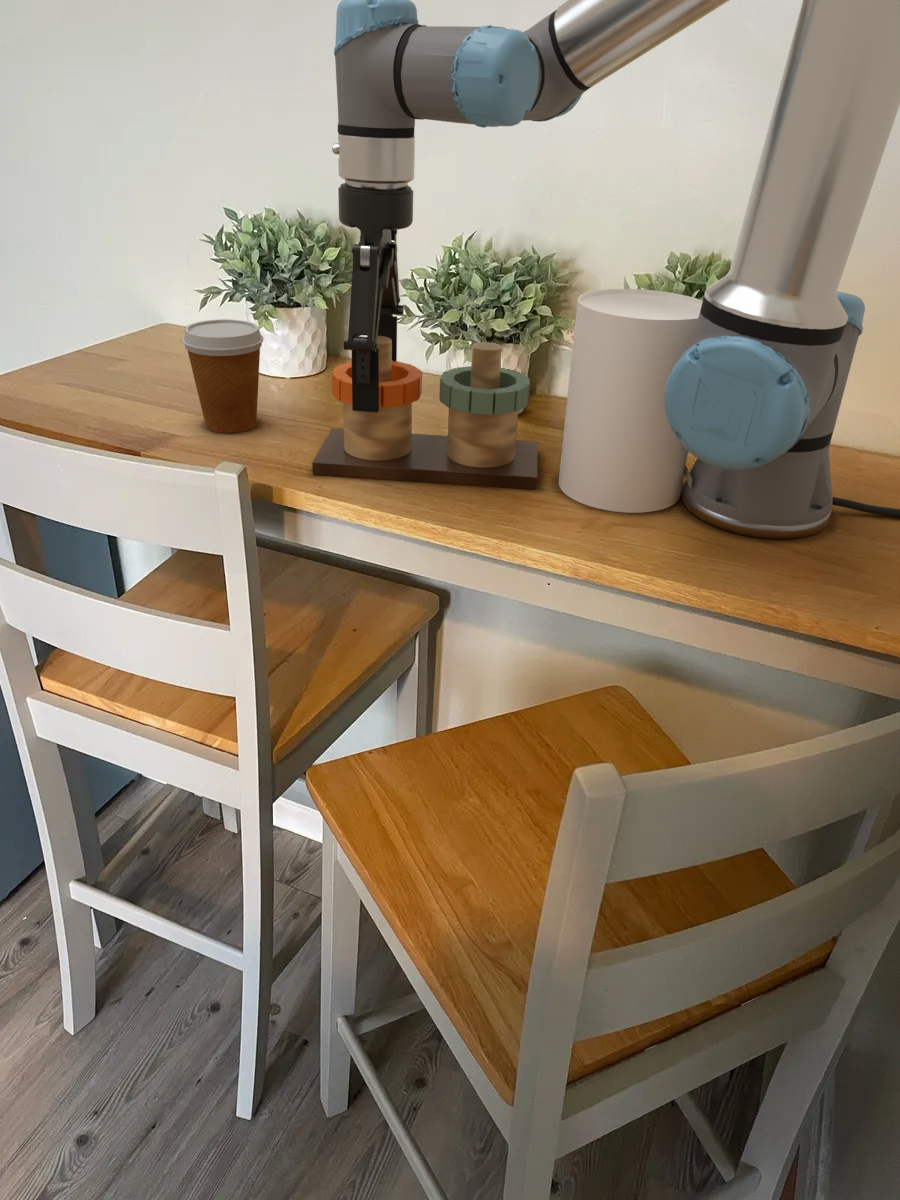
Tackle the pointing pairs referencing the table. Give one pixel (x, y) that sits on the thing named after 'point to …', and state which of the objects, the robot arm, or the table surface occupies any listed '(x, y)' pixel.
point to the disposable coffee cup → (225, 371)
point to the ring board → (432, 439)
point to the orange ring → (382, 385)
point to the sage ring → (484, 392)
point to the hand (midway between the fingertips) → (375, 390)
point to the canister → (625, 400)
